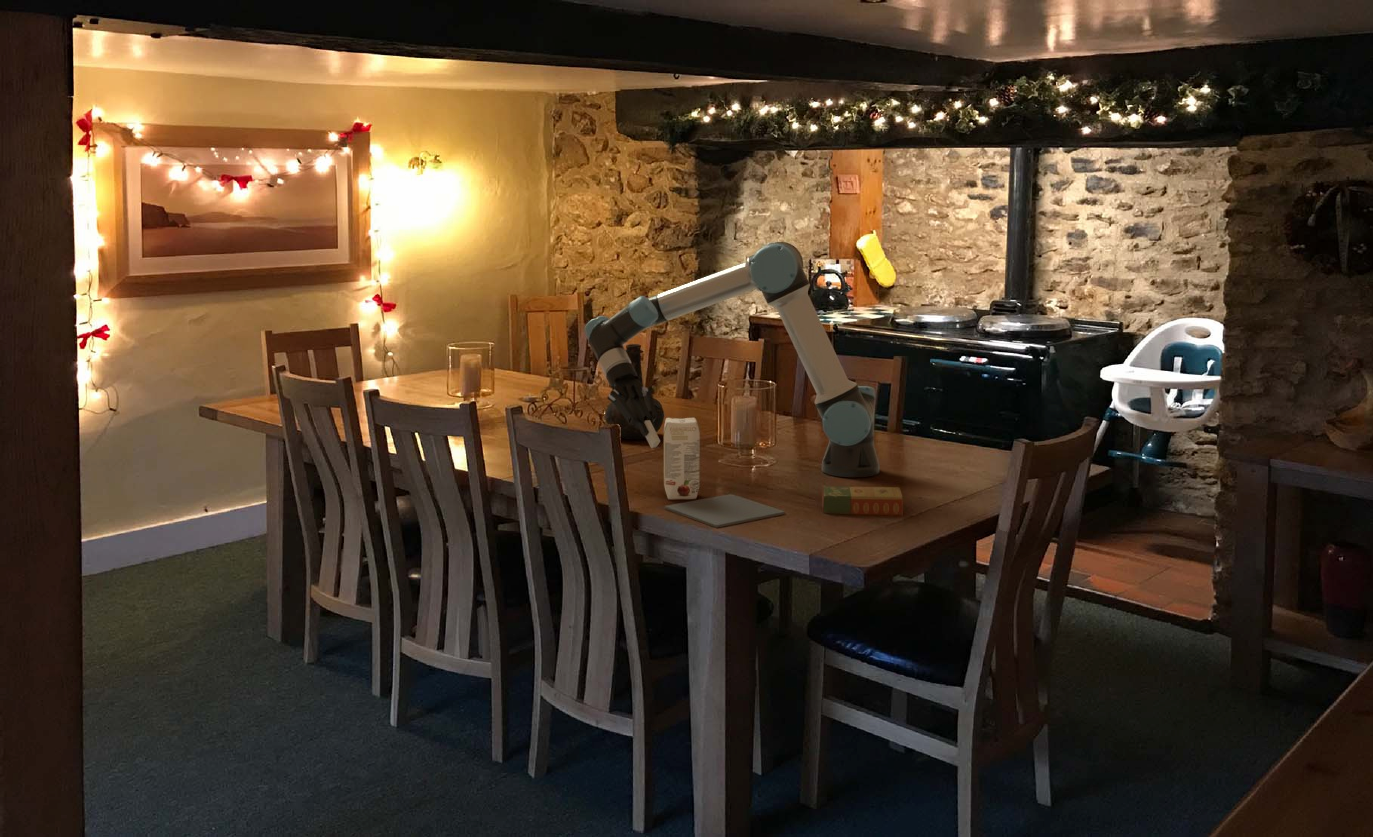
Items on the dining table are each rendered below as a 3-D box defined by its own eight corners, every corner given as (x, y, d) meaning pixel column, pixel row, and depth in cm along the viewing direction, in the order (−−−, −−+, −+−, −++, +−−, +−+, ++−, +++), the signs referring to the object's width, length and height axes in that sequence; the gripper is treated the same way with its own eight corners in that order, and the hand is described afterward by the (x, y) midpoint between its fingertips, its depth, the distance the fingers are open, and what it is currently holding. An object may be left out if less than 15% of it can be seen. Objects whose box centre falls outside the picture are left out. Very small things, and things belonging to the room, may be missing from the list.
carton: (902, 517, 276) (903, 496, 275) (822, 514, 277) (822, 494, 276) (899, 506, 285) (900, 486, 284) (821, 503, 286) (822, 484, 286)
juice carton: (700, 500, 288) (700, 422, 285) (664, 500, 288) (664, 422, 284) (697, 492, 296) (697, 416, 292) (662, 492, 295) (662, 416, 291)
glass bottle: (650, 444, 351) (650, 349, 346) (595, 440, 357) (594, 346, 352) (673, 433, 367) (673, 342, 362) (619, 429, 373) (619, 339, 368)
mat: (664, 508, 280) (664, 506, 280) (731, 496, 292) (731, 493, 292) (716, 527, 264) (716, 525, 264) (785, 513, 276) (785, 511, 276)
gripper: (634, 376, 314) (670, 450, 304) (591, 381, 307) (628, 456, 297) (645, 359, 309) (683, 432, 299) (602, 363, 302) (640, 439, 292)
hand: (655, 444), depth 298 cm, fingers closed
